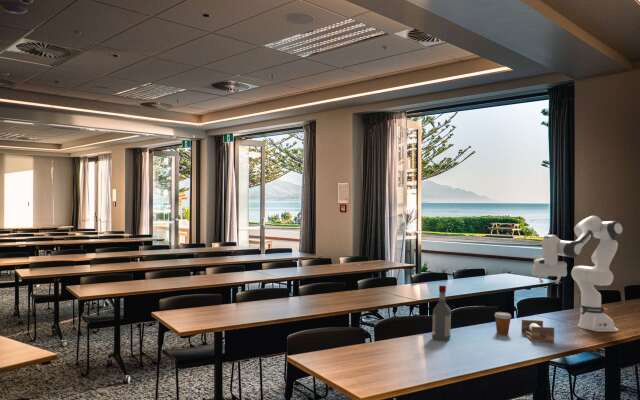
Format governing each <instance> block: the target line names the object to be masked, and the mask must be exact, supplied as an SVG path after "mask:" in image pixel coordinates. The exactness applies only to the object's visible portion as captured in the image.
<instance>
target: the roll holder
mask: <svg viewBox="0 0 640 400" xmlns="http://www.w3.org/2000/svg"><path fill="white" fill-rule="evenodd" d="M532 323H536V324H537V325H539V326H540V327H532V332H530V331H529V325H530V324H532ZM521 334H522V335H523V336H524V337H526V339H528V340H529V341H530V342H532V343H553V344H554V343H555V328H554V327H546V326H544V320H541V319H540V320H537V319H535V320H534V319H533V320H532V319H521Z"/></svg>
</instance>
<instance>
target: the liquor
mask: <svg viewBox="0 0 640 400" xmlns="http://www.w3.org/2000/svg"><path fill="white" fill-rule="evenodd" d="M446 290H447V285H439V286H438V291H439V292H438V293H439V295H438V297H439V298H438V303H437V304H436V306H435V307H434V308H433V309H432V325H431V326H432V327H431V328H432V330H431V337H432V339H433V340H435V341H440V342H448V341H449V340H450V339H451V327H452V325H451V323H452V322H451V319H452V310H451V307H449V305H448V304H447V303H446Z"/></svg>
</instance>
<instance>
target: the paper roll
mask: <svg viewBox="0 0 640 400" xmlns="http://www.w3.org/2000/svg"><path fill="white" fill-rule="evenodd" d="M532 327H540V326H539V325H537V324H536V323H532V324H530V325H529V331H530V332H532Z"/></svg>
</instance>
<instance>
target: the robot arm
mask: <svg viewBox="0 0 640 400" xmlns="http://www.w3.org/2000/svg"><path fill="white" fill-rule="evenodd" d="M573 230H574V234H575V236H576V237H577V239H576V240H562V239H561V238H559V237H558V236H557V235H556V234H546V235H544V236H543V238H542V245H541V250H542V254H541V257H538V258H535V259H533V265H532V267H531V268H532V269H531V274H532V275H533V276H535V277H536V276H537V278H538V279H539V283H540V284H543V283H544V280H543V279H542V277H557V279H555V280H554V283H555V284H558V285H559V284H560V280H561V279H562V277H566V276H567V275H568V270H567V267H568V264H567V262H566V261H561V260H560V261H558V258H559V257H558V256H562V257H568V258H572V259H574V258H575V259H576V258H577V257H578V256H579V255H581V253H582V250H584V249H585V247H586V246H587V245H588V244H589V243H590V242H591V241H592V239H593V240H594V239H595V240H600V242H599V243H598V245H597V247H596V248H595V250H594V251H593V252H592V254H591V256H590V257H591V258H590V259H591V262H592V263H593V264H594V265H593V266H589V265H575V266H573V268H572V270H571V272H570V275H571V277H572V279H573V281H575V282H576V284H577V285H578V288H579V290H580V298H581V301H580V302H581V303H580V308H579V311H580V316H579V322H578V324H577V327H579V328H580V329H582V330H583V329H584V330H589V331H593V332H597V333H599V332H619V328H617V327H616V326H615V322H614V320H613V319H612V318H611V317H610V316H609V315H608V314H606V313H605V312H607V311H608V309H607V308H606V307H603V306H602V294H601V292H599V291H598V290H597V289H596V287H595V285H596V286H601V287H602V286H610V285H611V284H612V283H613V281H614V273H613V272H612V271H611V270H610V265H611V263H612V260H613V259H614V257H615V255H616V253H617V251H618V247H619V243H618V241H617V240H619V239H620V238H621V236H622V234H623V232H624V228H623V225H622V223H621V222H620V221H618V220H609V221H608V220H606V221H605V220H604V221H602V219H601V218H600V217H599V216H596V215H590V216H588V217H586V218H584V219H582V220H581V221H579V222H578V223H577V224H576V225H575V226H574V228H573ZM567 277H568V276H567Z"/></svg>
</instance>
